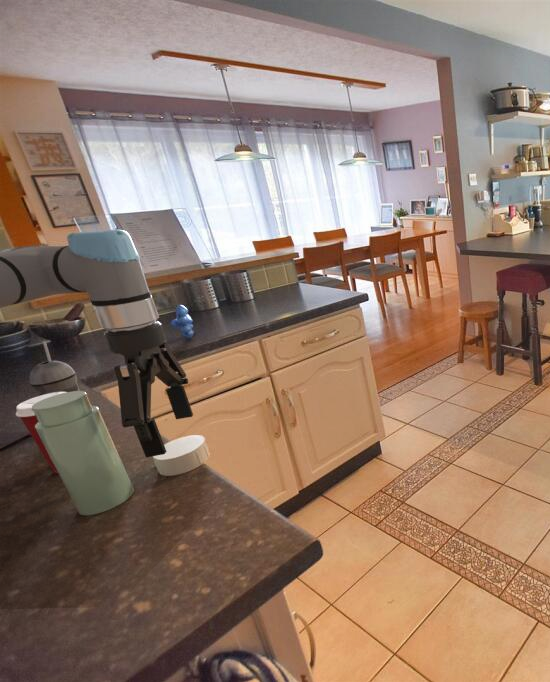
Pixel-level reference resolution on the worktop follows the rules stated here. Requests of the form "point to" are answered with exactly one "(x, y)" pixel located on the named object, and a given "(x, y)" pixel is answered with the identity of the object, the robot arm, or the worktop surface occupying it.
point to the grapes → (183, 322)
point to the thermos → (82, 452)
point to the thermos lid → (182, 455)
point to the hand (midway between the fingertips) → (171, 434)
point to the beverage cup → (53, 376)
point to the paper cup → (34, 422)
